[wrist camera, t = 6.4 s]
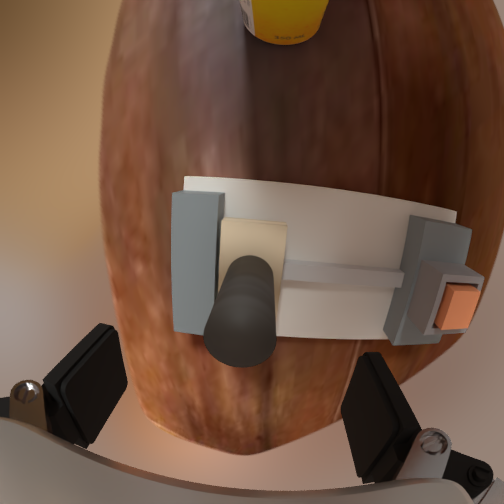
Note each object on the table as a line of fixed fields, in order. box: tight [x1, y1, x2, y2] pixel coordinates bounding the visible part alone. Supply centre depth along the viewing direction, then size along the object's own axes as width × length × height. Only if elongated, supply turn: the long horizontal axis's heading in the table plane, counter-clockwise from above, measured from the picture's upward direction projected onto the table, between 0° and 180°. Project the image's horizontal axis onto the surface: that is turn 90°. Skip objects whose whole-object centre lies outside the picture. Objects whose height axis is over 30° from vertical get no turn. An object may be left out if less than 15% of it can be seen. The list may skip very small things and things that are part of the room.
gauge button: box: [434, 282, 481, 330], centre depth 16 cm, size 3×3×4 cm
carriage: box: [203, 217, 288, 367], centre depth 15 cm, size 7×4×9 cm, turn 175°
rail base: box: [171, 176, 485, 345], centre depth 18 cm, size 12×22×7 cm, turn 85°
